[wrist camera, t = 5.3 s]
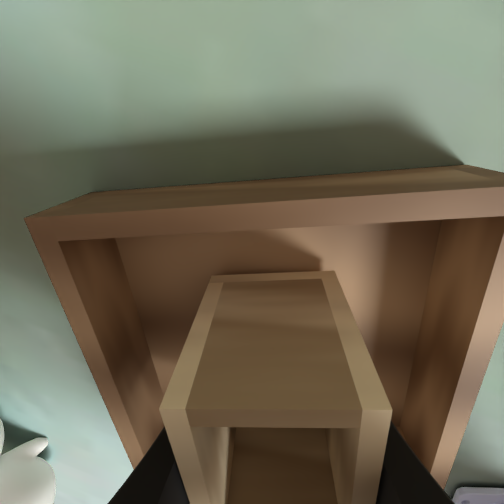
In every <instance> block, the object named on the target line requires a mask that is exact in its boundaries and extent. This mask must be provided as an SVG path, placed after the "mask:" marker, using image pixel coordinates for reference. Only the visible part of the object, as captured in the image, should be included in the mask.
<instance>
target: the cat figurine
mask: <svg viewBox="0 0 504 504" xmlns="http://www.w3.org/2000/svg"><path fill="white" fill-rule="evenodd" d="M3 443H4V427H3V423H2V421H1V419H0V504H54V499H55V493H56V478H55V473H54V470H53V468H52V466H51V465H50V464H49V463H48V462H47V461H46V460H44V459H42V458H40V457H37V455H38V454H39V453H40V452H41V451H43V449H44V448H45V447H46V446H47V445H48V439H47V438H43V437H41V438H35V439H33V440H31V441H28V442H26V443H23V444H21V445H20V446H18V447H16V448H14V449H12V450H10V451H8V452H6V453H4V454H2V455H1V452H2V448H3Z"/></svg>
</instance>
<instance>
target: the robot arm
mask: <svg viewBox="0 0 504 504" xmlns="http://www.w3.org/2000/svg"><path fill="white" fill-rule="evenodd" d="M108 504H190V502H189V499H188V496H187V493H186V490H185V487H184V484H183V481H182V478H181V475H180V471H179V468H178V465H177V462H176V459H175V456H174V453H173V450H172V447H171V444H170V441H169V438H168V435H167V432H166V429H165V426H164V428H163V429H162V431H161V432H160V434H159V435H158V437H157V438H156V440H155V441H154V443H153V444H152V445H151V447H150V448H149V450H148V451H147V453H146V454H145V455H144V457H143V458H142V460H141V461H140V462H139V464H138V465H137V466H136V468H135V469H134V470H133V472H132V473H131V475H130V476H129V477H128V479H127V480H126V481H125V483H124V484H123V485H122V486H121V488H120V489H119V490H118V492H117V493H116V494H115V495H114V497H113V498H112V499H111V500H110V501H109V503H108ZM376 504H504V488H484V487H461V488H458V489H457V490H456V492H455V494H454V497H453V499H452V500H451V499H450V497H449V496H448V495H447V494H446V493H445V491H444V490H443V489H442V488H441V486H440V485H439V484H438V483H437V481H436V480H435V479H434V478H433V476H432V475H431V474H430V473H429V471H428V470H427V469H426V468H425V466H424V465H423V464H422V462H421V461H420V460H419V458H418V457H417V456H416V454H415V453H414V452H413V450H412V449H411V448H410V446H409V445H408V444H407V442H406V441H405V440H404V438H403V437H402V436H401V434H400V433H399V431H398V430H397V428H396V427H395V426H394V424H393V423H392V421H391V422H390V427H389V433H388V438H387V443H386V449H385V454H384V460H383V465H382V471H381V476H380V482H379V487H378V493H377V498H376Z"/></svg>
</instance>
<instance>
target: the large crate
mask: <svg viewBox="0 0 504 504" xmlns="http://www.w3.org/2000/svg"><path fill="white" fill-rule="evenodd" d="M24 220H25V222H26V225H27V227H28V229H29V232H30V234H31V236H32V238H33V241H34V243H35V245H36V248H37V250H38V252H39V254H40V257H41V259H42V261H43V263H44V266H45V268H46V270H47V273H48V275H49V277H50V279H51V282H52V284H53V286H54V289H55V291H56V293H57V295H58V298H59V300H60V302H61V305H62V307H63V309H64V311H65V314H66V316H67V318H68V321H69V323H70V325H71V327H72V330H73V332H74V334H75V336H76V339H77V341H78V343H79V346H80V348H81V350H82V352H83V355H84V357H85V359H86V362H87V364H88V366H89V368H90V371H91V373H92V375H93V378H94V380H95V382H96V384H97V387H98V389H99V391H100V393H101V396H102V398H103V400H104V403H105V405H106V407H107V409H108V412H109V414H110V416H111V419H112V421H113V423H114V425H115V428H116V430H117V432H118V435H119V437H120V439H121V441H122V444H123V446H124V448H125V451H126V453H127V455H128V457H129V460H130V462H131V464H132V466H133V469H135V468H136V466H137V465H138V464H139V462H140V461H141V460H142V458H143V457H144V455H145V454H146V453H147V451H148V450H149V448H150V447H151V445H152V444H153V443H154V441H155V440H156V438H157V437H158V435H159V434H160V432H161V431H162V429H163V428H164V423H163V420H162V417H161V414H160V411H159V408H160V405H161V403H162V400H163V397H164V395H165V392H166V390H167V387H168V385H169V382H170V380H171V377H172V375H173V372H174V370H175V367H176V365H177V362H178V360H179V357H180V354H181V352H182V349H183V347H184V344H185V342H186V339H187V337H188V334H189V332H190V329H191V327H192V324H193V322H194V319H195V317H196V314H197V311H198V309H199V306H200V304H201V301H202V299H203V296H204V294H205V291H206V289H207V286H208V284H209V281H210V279H211V276H212V275H236V274H260V273H284V272H308V271H332V270H334V271H335V273H336V275H337V278H338V280H339V283H340V285H341V287H342V290H343V292H344V295H345V297H346V299H347V302H348V304H349V307H350V309H351V311H352V314H353V316H354V319H355V321H356V323H357V326H358V328H359V330H360V333H361V335H362V338H363V340H364V342H365V345H366V347H367V350H368V352H369V354H370V357H371V359H372V362H373V364H374V366H375V369H376V371H377V374H378V376H379V378H380V381H381V383H382V386H383V388H384V390H385V393H386V395H387V398H388V400H389V402H390V405H391V407H392V410H393V411H392V416H391V421H392V423H393V424H394V426H395V427H396V428H397V430H398V431H399V433H400V434H401V436H402V437H403V438H404V440H405V441H406V442H407V444H408V445H409V446H410V448H411V449H412V450H413V452H414V453H415V454H416V456H417V457H418V458H419V460H420V461H421V462H422V464H423V465H424V466H425V468H426V469H427V470H428V471H429V473H430V474H431V475H432V476H433V478H434V479H435V480H436V481H437V483H438V484H439V485H440V486H441V488H442V489H443V490H444V488H445V485H446V483H447V480H448V477H449V474H450V471H451V468H452V466H453V463H454V460H455V457H456V454H457V452H458V449H459V446H460V443H461V440H462V437H463V435H464V432H465V429H466V426H467V423H468V421H469V418H470V415H471V412H472V409H473V406H474V404H475V401H476V398H477V395H478V392H479V390H480V387H481V384H482V381H483V378H484V375H485V373H486V370H487V367H488V364H489V361H490V359H491V356H492V353H493V350H494V347H495V344H496V342H497V339H498V336H499V333H500V330H501V328H502V325H503V322H504V173H502V172H498V171H493V170H489V169H484V168H479V167H475V166H470V165H454V166H441V167H427V168H413V169H400V170H386V171H373V172H359V173H345V174H332V175H318V176H305V177H291V178H278V179H264V180H250V181H237V182H223V183H210V184H196V185H182V186H169V187H155V188H142V189H128V190H114V191H101V192H91V193H88V194H85V195H83V196H80V197H78V198H75V199H72V200H70V201H67V202H65V203H62V204H59V205H57V206H54V207H52V208H49V209H46V210H44V211H41V212H39V213H36V214H33V215H31V216H28V217H26V218H24Z"/></svg>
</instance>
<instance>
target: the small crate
mask: <svg viewBox="0 0 504 504" xmlns="http://www.w3.org/2000/svg"><path fill="white" fill-rule="evenodd" d="M159 411H160V414H161V417H162V420H163V423H164V426H165V429H166V432H167V435H168V438H169V441H170V444H171V447H172V450H173V453H174V456H175V459H176V462H177V465H178V468H179V471H180V475H181V478H182V481H183V484H184V487H185V490H186V493H187V496H188V499H189V502H190V504H376V498H377V493H378V487H379V482H380V476H381V471H382V465H383V460H384V454H385V449H386V443H387V438H388V433H389V427H390V422H391V416H392V411H393V410H392V407H391V405H390V402H389V400H388V398H387V395H386V393H385V390H384V388H383V386H382V383H381V381H380V378H379V376H378V374H377V371H376V369H375V366H374V364H373V362H372V359H371V357H370V354H369V352H368V350H367V347H366V345H365V342H364V340H363V338H362V335H361V333H360V330H359V328H358V326H357V323H356V321H355V319H354V316H353V314H352V311H351V309H350V307H349V304H348V302H347V299H346V297H345V295H344V292H343V290H342V287H341V285H340V283H339V280H338V278H337V275H336V273H335V271H334V270H332V271H308V272H284V273H260V274H236V275H212V276H211V279H210V281H209V284H208V286H207V289H206V291H205V294H204V296H203V299H202V301H201V304H200V306H199V309H198V311H197V314H196V317H195V319H194V322H193V324H192V327H191V329H190V332H189V334H188V337H187V339H186V342H185V344H184V347H183V349H182V352H181V354H180V357H179V360H178V362H177V365H176V367H175V370H174V372H173V375H172V377H171V380H170V382H169V385H168V387H167V390H166V392H165V395H164V397H163V400H162V403H161V405H160V408H159Z"/></svg>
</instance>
